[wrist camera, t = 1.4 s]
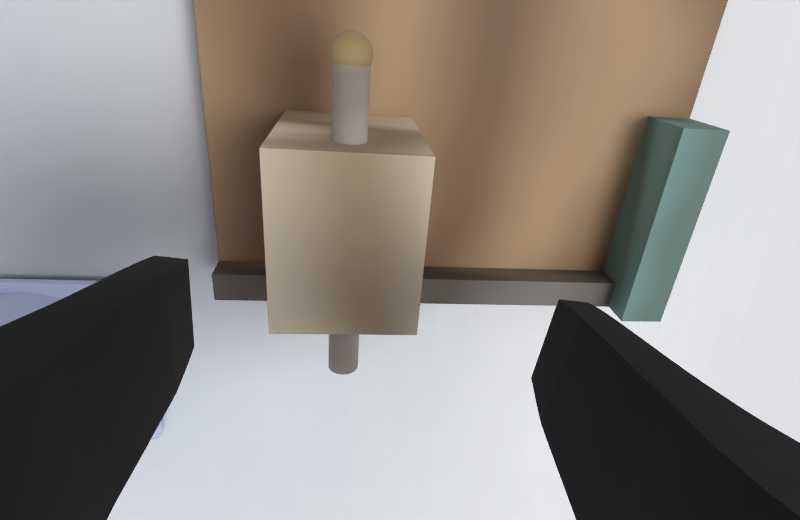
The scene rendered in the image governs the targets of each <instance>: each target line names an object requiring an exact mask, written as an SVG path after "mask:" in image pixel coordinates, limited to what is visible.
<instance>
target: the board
mask: <svg viewBox="0 0 800 520" xmlns="http://www.w3.org/2000/svg"><path fill="white" fill-rule="evenodd" d="M727 1H728V0H193V4H194V14H195V24H196V34H197V44H198V54H199V64H200V74H201V84H202V95H203V105H204V115H205V125H206V135H207V145H208V155H209V165H210V175H211V185H212V195H213V205H214V215H215V225H216V235H217V245H218V255H219V262H218V264H217V266H216V268H215V270H214V272H213V273H212V279H213V289H214V298H215V300H258V301H267V283H266V265H265V246H264V227H263V208H262V189H261V171H260V152H259V148H260V146H261V145H262V143H263V142H264V140H265V139H266V138H267V136H268V135H269V133H270V132H271V130H272V129H273V128H274V126H275V125H276V123H277V122H278V121H279V119H280V118H281V116H282V115H283V113H284V112H285V111H286V110H298V111H315V112H332V61H331V57H330V48H331V45H332V42H333V40H334V39H335V38H336V36H338V35H339V34H340V33H342V32H344V31H349V30H353V31H358V32H360V33H362V34H363V35H365V36H366V37H367V38H368V40H369V41H370V43H371V45H372V48H373V61H372V64H371V71H370V94H369V115H382V116H399V117H412V118H413V120H414V122H415V123H416V125H417V127H418V128H419V130H420V132H421V133H422V135H423V137H424V138H425V140H426V142H427V143H428V145H429V147H430V148H431V150H432V152H433V153H434V155H435V157H436V158H435V167H434V176H433V186H432V195H431V205H430V214H429V224H428V233H427V242H426V252H425V261H424V271H423V280H422V289H421V299H420V303H436V304H495V305H554V306H557V303H558V300H559V299H561V300H570V301H579V302H588V303H590V304H592V305H593V306H609V307H610V308H611V309H612V311H613V312H614V313H615V314H616V315H617V316H618V317H619V319H620V320H621V321H659V322H660V321H661V318H662V316H663V313H664V310H665V307H666V305H667V302H668V299H669V296H670V294H671V291H672V288H673V285H674V283H675V280H676V277H677V274H678V272H679V269H680V266H681V263H682V261H683V258H684V255H685V252H686V250H687V247H688V244H689V241H690V239H691V236H692V233H693V230H694V228H695V225H696V222H697V219H698V217H699V214H700V211H701V208H702V206H703V203H704V200H705V198H706V195H707V192H708V189H709V187H710V184H711V181H712V178H713V176H714V173H715V170H716V167H717V165H718V162H719V159H720V156H721V154H722V151H723V148H724V145H725V143H726V140H727V137H728V134H729V132H730V131H728V130H725V129H722V128H718V127H715V126H712V125H708V124H705V123H702V122H698V121H695V120H692V119H689V118H690V115H691V112H692V109H693V106H694V103H695V100H696V97H697V94H698V91H699V87H700V84H701V81H702V78H703V75H704V72H705V69H706V66H707V63H708V60H709V57H710V54H711V51H712V47H713V44H714V41H715V38H716V35H717V32H718V29H719V26H720V23H721V20H722V17H723V14H724V11H725V7H726V4H727Z"/></svg>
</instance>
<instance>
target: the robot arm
mask: <svg viewBox="0 0 800 520" xmlns="http://www.w3.org/2000/svg"><path fill="white" fill-rule="evenodd" d="M193 348H194V337H193V323H192V309H191V295H190V281H189V267H188V259H179V258H170V257H161V256H153V257H150V258H147V259H145V260H142V261H140V262H138V263H135V264H133V265H131V266H129V267H127V268H125V269H123V270H120V271H118V272H116V273H114V274H112V275H110V276H108V277H106V278H104V279H102V280H100V281H90V280H41V279H0V520H107V518H108V516H109V514H110V512H111V510H112V508H113V506H114V504H115V502H116V501H117V499H118V497H119V495H120V493H121V492H122V490H123V488H124V486H125V484H126V483H127V481H128V479H129V477H130V475H131V474H132V472H133V470H134V468H135V467H136V465H137V463H138V461H139V459H140V458H141V456H142V454H143V452H144V450H145V449H146V447H147V445H148V443H149V442H150V440H153V439H157V438H159V437H160V435H161V434H162V432H163V429H164V425H163V420H162V418H163V416H164V414H165V413H166V411H167V409H168V407H169V405H170V404H171V402H172V400H173V398H174V396H175V394H176V392H177V390H178V387H179V385H180V382H181V380H182V377H183V375H184V373H185V370H186V367H187V365H188V362H189V359H190V357H191V354H192V351H193ZM531 378H532V383H533V388H534V393H535V398H536V403H537V407H538V412H539V416H540V420H541V424H542V427H543V430H544V433H545V436H546V438H547V441H548V444H549V447H550V449H551V452H552V455H553V458H554V461H555V463H556V466H557V469H558V471H559V474H560V477H561V479H562V482H563V485H564V488H565V490H566V493H567V496H568V498H569V501H570V504H571V506H572V509H573V512H574V515H575V517H576V520H800V443H799V442H797V441H795V440H794V439H792V438H790V437H789V436H787V435H785V434H783V433H782V432H780V431H778V430H777V429H775V428H773V427H771V426H770V425H768V424H766V423H765V422H763V421H761V420H760V419H758V418H756V417H755V416H753V415H752V414H750V413H748V412H747V411H745V410H744V409H742V408H741V407H739V406H737V405H736V404H734V403H733V402H731V401H730V400H728V399H727V398H725V397H724V396H722V395H721V394H719V393H718V392H716V391H715V390H713V389H712V388H710V387H709V386H707V385H706V384H704V383H703V382H701V381H700V380H699V379H697V378H696V377H694V376H693V375H691V374H690V373H688V372H687V371H686V370H684V369H683V368H681V367H680V366H679V365H677V364H676V363H674V362H673V361H672V360H670V359H669V358H667V357H666V356H665V355H663V354H662V353H660V352H659V351H658V350H656V349H655V348H654V347H652V346H651V345H649V344H648V343H647V342H645V341H644V340H643V339H641V338H640V337H639V336H637V335H636V334H634V333H633V332H632V331H630V330H629V329H628V328H626V327H625V326H623V325H622V324H621V323H619V322H618V321H616V320H615V319H613V318H612V317H611V316H609V315H608V314H606V313H605V312H603V311H602V310H600V309H599V308H597V307H595V306H593V305H592V304H590V303H588V302H579V301H570V300H561V299H559V300H558V303H557V306H556V309H555V312H554V314H553V317H552V320H551V323H550V326H549V329H548V332H547V335H546V337H545V340H544V343H543V346H542V349H541V352H540V355H539V357H538V360H537V363H536V366H535V369H534V372H533V375H532V377H531Z"/></svg>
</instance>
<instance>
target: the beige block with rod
mask: <svg viewBox="0 0 800 520" xmlns="http://www.w3.org/2000/svg"><path fill="white" fill-rule="evenodd" d="M330 57H331V61H332V112H315V111H298V110H286V111H285V112H284V113H283V115H282V116H281V118H280V119H279V121H278V122H277V123H276V125H275V126H274V128H273V129H272V130H271V132H270V133H269V135H268V136H267V138H266V139H265V140H264V142H263V143H262V145H261V146H260V148H259V152H260V171H261V189H262V208H263V227H264V246H265V265H266V283H267V302H268V321H269V333H271V334H329V368H330V370H331V371H332V372H334V373H337V374H349V373H352V372H354V371H355V370H356V369H357V366H358V345H359V334H375V335H417V327H418V318H419V308H420V299H421V289H422V280H423V271H424V261H425V252H426V242H427V233H428V224H429V214H430V205H431V195H432V186H433V176H434V167H435V158H436V157H435V155H434V153H433V152H432V150H431V148H430V147H429V145H428V143H427V142H426V140H425V138H424V137H423V135H422V133H421V132H420V130H419V128H418V127H417V125H416V123H415V122H414V120H413V118H412V117H399V116H382V115H369V94H370V71H371V64H372V61H373V48H372V45H371V43H370V41H369V40H368V38H367V37H366V36H365V35H363V34H362V33H360V32H358V31H353V30H349V31H344V32H342V33H340V34H339V35H338V36H336V38H335V39H334V40H333V42H332V45H331V48H330Z"/></svg>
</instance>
